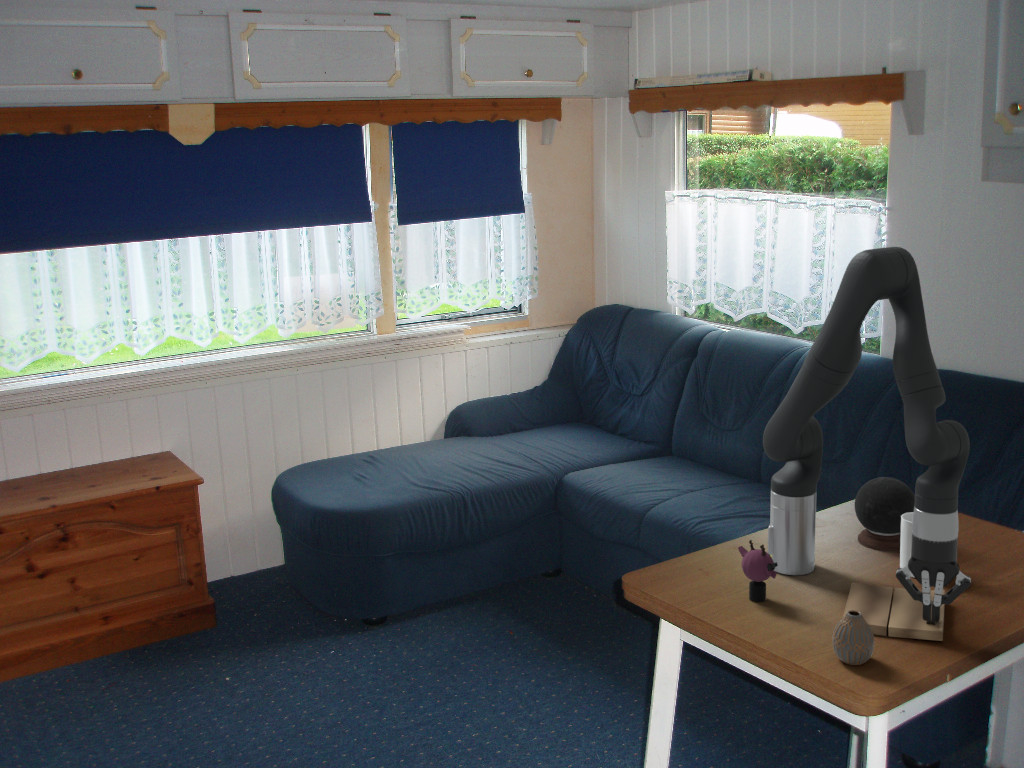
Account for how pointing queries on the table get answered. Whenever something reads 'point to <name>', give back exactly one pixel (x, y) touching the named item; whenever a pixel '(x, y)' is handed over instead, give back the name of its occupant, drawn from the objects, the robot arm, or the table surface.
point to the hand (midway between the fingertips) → (931, 622)
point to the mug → (906, 539)
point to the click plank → (913, 618)
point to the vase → (853, 639)
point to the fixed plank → (871, 605)
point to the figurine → (757, 570)
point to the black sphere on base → (883, 512)
